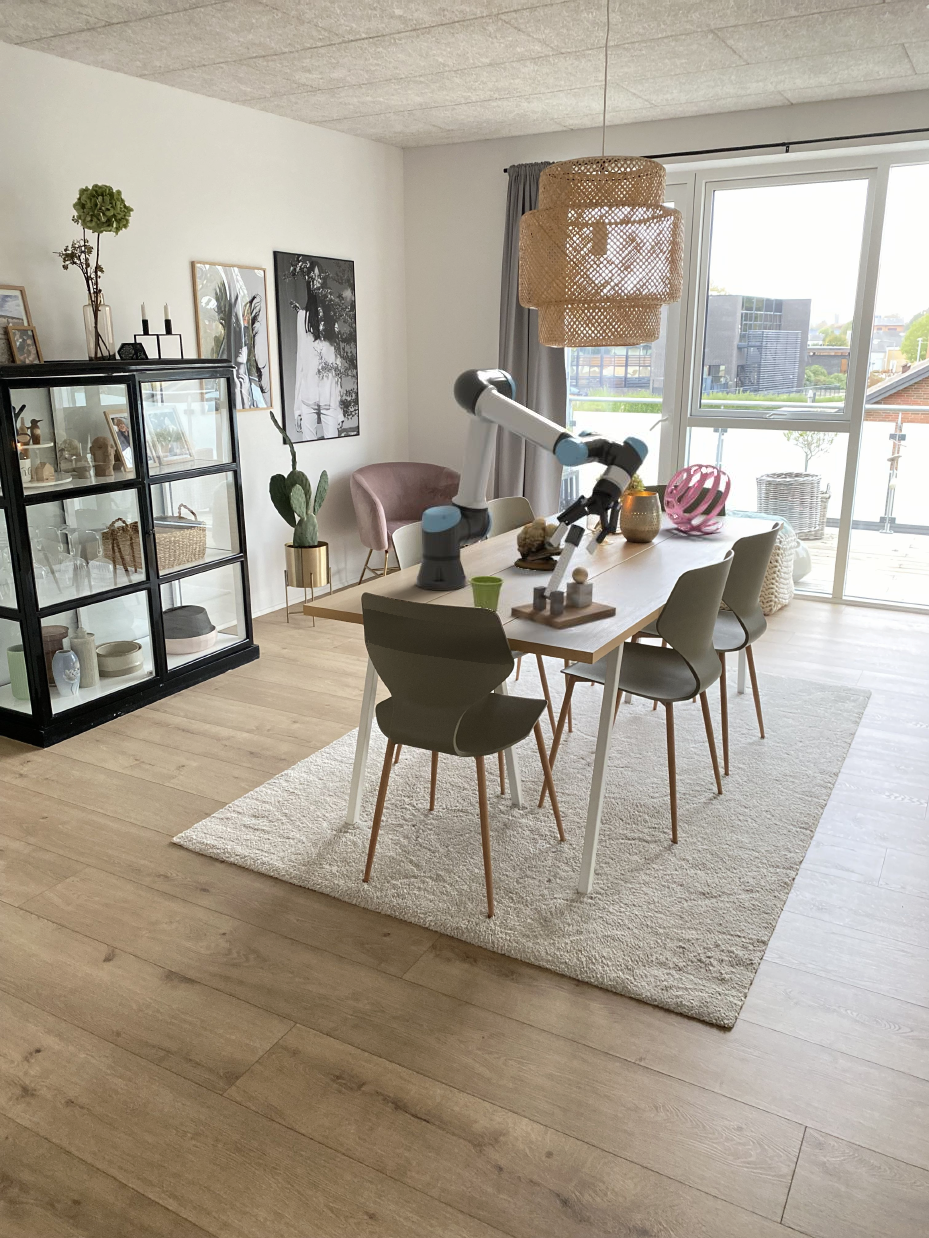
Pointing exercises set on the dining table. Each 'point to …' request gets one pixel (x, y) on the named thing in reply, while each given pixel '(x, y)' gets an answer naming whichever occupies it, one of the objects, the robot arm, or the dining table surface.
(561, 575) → the lever
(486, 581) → the plant pot
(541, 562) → the brown lumpy mound
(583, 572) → the wooden ball
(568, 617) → the base
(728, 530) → the dining table surface
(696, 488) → the spiral basket
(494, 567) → the dining table surface
